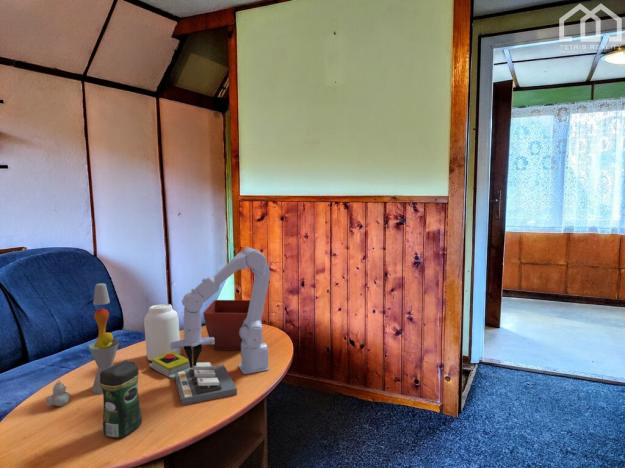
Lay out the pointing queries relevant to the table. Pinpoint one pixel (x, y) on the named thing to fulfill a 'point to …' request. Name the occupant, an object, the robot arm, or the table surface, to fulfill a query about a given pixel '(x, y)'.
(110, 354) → the lava lamp
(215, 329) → the plant pot
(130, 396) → the coffee jar
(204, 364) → the rocker
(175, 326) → the white jar
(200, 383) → the rocker
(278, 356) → the table surface
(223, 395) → the panel
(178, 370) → the emergency button
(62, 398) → the rubber duck
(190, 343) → the robot arm
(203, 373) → the rocker
